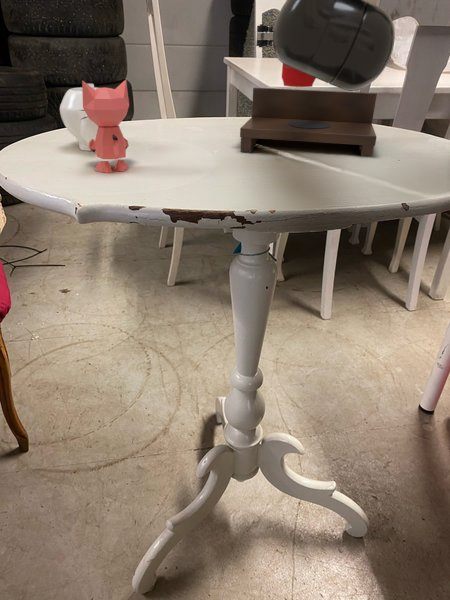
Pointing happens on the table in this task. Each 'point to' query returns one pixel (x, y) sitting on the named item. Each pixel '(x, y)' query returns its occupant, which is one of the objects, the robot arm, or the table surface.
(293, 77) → the beverage can
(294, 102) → the bench
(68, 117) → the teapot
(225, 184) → the table surface
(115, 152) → the cat figurine
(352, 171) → the table surface
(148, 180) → the table surface
